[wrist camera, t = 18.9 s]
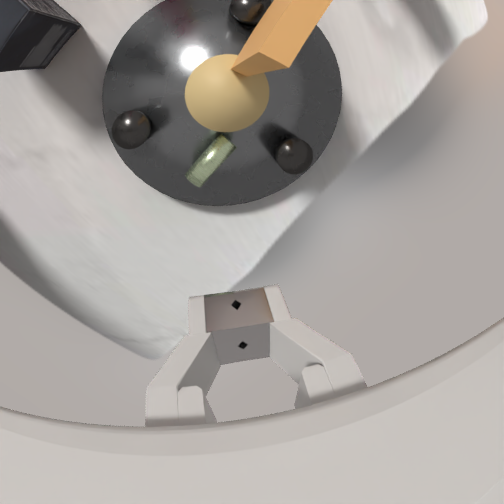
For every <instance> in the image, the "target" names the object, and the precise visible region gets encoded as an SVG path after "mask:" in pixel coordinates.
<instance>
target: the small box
mask: <svg viewBox="0 0 504 504" xmlns="http://www.w3.org/2000/svg"><path fill="white" fill-rule="evenodd" d="M80 26H81V24H80V23H78V22H77V21H76V20H75V19H74V18H73V17H72V16H71V15H70V14H68V13H67V12H66V11H65V10H64V9H63V8H62V7H60V6H59V5H58V4H57V3H55V2H54V0H0V72H5V71H14V70H26V69H45V68H46V67H47V65H48V64H49V63H50V61H51V60H52V59H53V58H54V56H55V55H56V54H57V53H58V51H59V50H60V49H61V48H62V47H63V45H64V44H65V43H66V42H67V41H68V40H69V39H70V37H71V36H72V35H73V34H74V33H75V32H76V31H77V30H78V29H79V28H80Z"/></svg>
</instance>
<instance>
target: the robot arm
mask: <svg viewBox="0 0 504 504" xmlns="http://www.w3.org/2000/svg"><path fill="white" fill-rule="evenodd" d="M188 320H189V335H185V336H184V337H183V338H182V340H181V341H180V342H179V344H178V345H177V346H176V348H175V349H174V351H173V352H172V354H171V355H170V356H169V357H168V359H167V360H166V362H165V363H164V364H163V366H162V367H161V369H160V370H159V371H158V373H157V374H156V376H155V377H154V378H153V380H152V381H151V382H150V384H149V385H148V387H147V389H146V417H145V418H146V419H145V421H146V422H145V427H133V426H132V427H131V426H110V425H109V426H108V425H97V424H86V423H78V422H70V421H63V420H57V419H51V418H45V417H40V416H35V415H31V414H27V413H22V412H18V411H14V410H11V409H7V408H3V407H0V504H504V318H502V319H501V320H499V321H498V322H497V323H495V324H493V325H492V326H490V327H489V328H487V329H486V330H484V331H483V332H481V333H480V334H478V335H477V336H475V337H473V338H471V339H470V340H468V341H466V342H465V343H463V344H461V345H459V346H458V347H456V348H454V349H452V350H451V351H448V352H447V353H445V354H443V355H441V356H439V357H437V358H435V359H433V360H431V361H429V362H427V363H425V364H423V365H421V366H418V367H416V368H414V369H412V370H410V371H407V372H405V373H403V374H400V375H398V376H396V377H393V378H391V379H389V380H386V381H383V382H381V383H378V384H376V385H373V386H370V387H367V385H366V383H365V381H364V379H363V377H362V374H361V372H360V370H359V368H358V366H357V364H356V362H355V360H354V358H353V356H352V354H351V353H349V352H347V351H346V350H345V349H343V348H341V347H340V346H338V345H337V344H335V343H334V342H332V341H331V340H329V339H327V338H326V337H324V336H323V335H321V334H320V333H318V332H317V331H315V330H314V329H312V328H311V327H309V326H308V325H306V324H304V323H303V322H301V321H300V320H298V319H297V318H293V319H292V318H291V315H290V313H289V310H288V307H287V305H286V302H285V300H284V297H283V295H282V292H281V289H280V287H279V285H278V284H274V285H268V286H263V287H258V288H251V289H245V290H239V291H233V292H225V293H217V294H209V295H203V296H194V297H189V300H188ZM266 357H270V358H271V359H272V360H273V361H274V362H275V363H276V364H277V365H278V366H279V367H280V368H281V369H282V370H283V371H284V372H286V373H287V374H288V375H289V376H290V377H291V378H292V379H293V380H294V381H295V382H297V383H298V384H299V387H298V391H297V396H296V401H295V409H293V410H289V411H284V412H280V413H275V414H270V415H265V416H259V417H254V418H247V419H241V420H234V421H226V422H218V423H217V421H216V418H215V416H214V414H213V412H212V409H211V407H210V405H209V403H208V401H207V399H206V395H207V393H208V391H209V389H210V387H211V385H212V383H213V381H214V379H215V377H216V375H217V373H218V371H219V368H220V365H223V364H228V363H234V362H240V361H246V360H253V359H259V358H266Z"/></svg>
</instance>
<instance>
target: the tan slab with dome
mask: <svg viewBox="0 0 504 504" xmlns="http://www.w3.org/2000/svg"><path fill="white" fill-rule="evenodd" d="M331 2H332V0H274V1H273V2H272V4H271V5H270V6H269V8H268V9H267V11H266V12H265V14H264V15H263V17H262V18H261V20H260V21H259V23H258V24H257V26H256V27H255V29H254V30H253V32H252V34H251V35H250V37H249V38H248V40H247V42H246V43H245V45H244V46H243V48H242V50H241V51H240V53H239V55H234V54H223V55H217V56H214V57H211V58H209V59H207V60H205V61H203V62H202V63H201V64H199V65H198V66H197V67H196V68H195V69H194V70H193V72H192V73H191V75H190V76H189V78H188V81H187V84H186V87H185V101H186V105H187V108H188V110H189V112H190V114H191V115H192V117H193V118H194V119H195V120H196V121H197V122H198V123H199V124H201V125H202V126H204V127H206V128H208V129H210V130H213V131H218V132H234V131H239V130H242V129H244V128H246V127H248V126H250V125H252V124H253V123H254V122H255V121H257V120H258V119H259V118H260V116H261V115H262V114H263V112H264V111H265V109H266V107H267V104H268V101H269V84H268V80H267V78H266V76H265V74H264V73H265V72H270V71H275V70H280V69H286V68H289V67H290V66H291V64H292V62H293V61H294V59H295V57H296V56H297V54H298V53H299V51H300V49H301V48H302V46H303V45H304V43H305V41H306V40H307V38H308V37H309V35H310V33H311V32H312V30H313V29H314V27H315V26H316V24H317V23H318V21H319V20H320V18H321V17H322V15H323V14H324V12H325V11H326V9H327V8H328V6H329V5H330V3H331Z"/></svg>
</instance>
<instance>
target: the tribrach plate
mask: <svg viewBox="0 0 504 504" xmlns="http://www.w3.org/2000/svg"><path fill="white" fill-rule="evenodd" d="M273 1H274V0H165V1H163V2H161V3H159V4H158V5H156V6H155V7H153V8H152V9H151V10H149V11H148V12H146V13H145V14H144V15H143V16H142V17H141V18H140V19H138V20H137V21H136V22H135V23H134V24H133V25H132V26H131V28H130V29H129V30H128V31H127V32H126V34H125V35H124V36H123V37H122V39H121V41H120V42H119V44H118V46H117V47H116V49H115V51H114V53H113V55H112V57H111V60H110V62H109V65H108V68H107V71H106V75H105V79H104V85H103V95H102V99H103V114H104V119H105V124H106V128H107V131H108V134H109V136H110V139H111V141H112V143H113V145H114V147H115V149H116V151H117V153H118V154H119V156H120V157H121V158H122V160H123V161H124V163H125V164H126V165H127V166H128V167H129V168H130V169H131V170H132V171H133V172H134V174H135V175H137V176H138V177H139V178H140V179H142V180H143V181H144V182H145V183H146V184H148V185H150V186H151V187H153V188H154V189H156V190H158V191H159V192H161V193H164V194H166V195H168V196H170V197H172V198H176V199H179V200H182V201H185V202H189V203H195V204H200V205H212V206H223V205H235V204H242V203H247V202H250V201H254V200H258V199H261V198H263V197H266V196H268V195H271V194H273V193H275V192H277V191H279V190H281V189H283V188H285V187H286V186H288V185H289V184H291V183H292V182H294V181H295V180H296V179H298V178H299V177H300V176H301V175H302V174H304V173H305V172H306V171H307V170H308V169H309V168H310V167H311V166H312V165H313V164H314V162H315V161H316V160H317V159H318V158H319V156H320V155H321V154H322V152H323V151H324V149H325V148H326V146H327V144H328V142H329V141H330V139H331V137H332V135H333V132H334V130H335V127H336V124H337V121H338V117H339V113H340V108H341V99H342V86H341V77H340V71H339V67H338V63H337V60H336V57H335V54H334V52H333V50H332V48H331V46H330V44H329V42H328V40H327V39H326V37H325V36H324V34H323V33H322V31H321V30H320V29H319V27H318V26H317V25H316V26H315V27H314V29H313V30H312V32H311V33H310V35H309V37H308V38H307V40H306V41H305V43H304V45H303V46H302V48H301V49H300V51H299V53H298V54H297V56H296V57H295V59H294V61H293V62H292V64H291V66H290V67H289V68H286V69H280V70H275V71H270V72H265V73H264V74H265V76H266V78H267V80H268V84H269V101H268V104H267V107H266V109H265V111H264V112H263V114H262V115H261V116H260V118H259V119H258V120H257V121H255V122H254V123H253V124H252V125H250V126H248V127H246V128H244V129H242V130H239V131H234V132H218V131H213V130H210V129H208V128H206V127H204V126H202V125H201V124H199V123H198V122H197V121H196V120H195V119H194V118H193V117H192V115H191V114H190V112H189V110H188V108H187V105H186V101H185V87H186V84H187V81H188V78H189V76H190V75H191V73H192V72H193V70H194V69H195V68H196V67H197V66H198V65H199V64H201V63H202V62H203V61H205V60H207V59H209V58H211V57H214V56H217V55H223V54H234V55H239V53H240V51H241V50H242V48H243V46H244V45H245V43H246V42H247V40H248V38H249V37H250V35H251V34H252V32H253V30H254V29H255V27H256V26H257V24H258V23H259V21H260V20H261V18H262V17H263V15H264V14H265V12H266V11H267V9H268V8H269V6H270V5H271V4H272V2H273Z"/></svg>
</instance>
